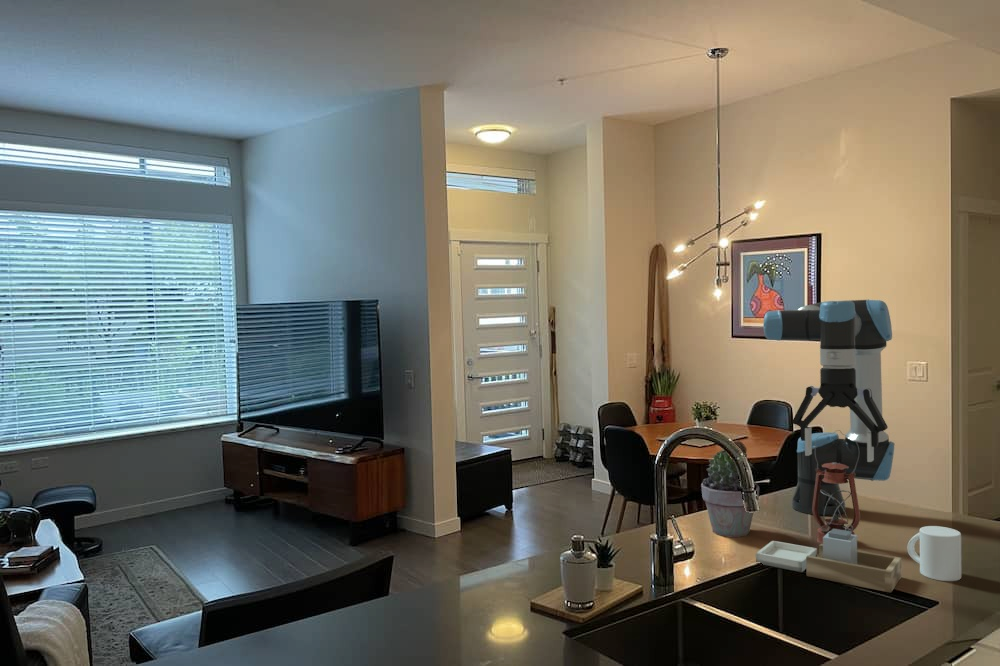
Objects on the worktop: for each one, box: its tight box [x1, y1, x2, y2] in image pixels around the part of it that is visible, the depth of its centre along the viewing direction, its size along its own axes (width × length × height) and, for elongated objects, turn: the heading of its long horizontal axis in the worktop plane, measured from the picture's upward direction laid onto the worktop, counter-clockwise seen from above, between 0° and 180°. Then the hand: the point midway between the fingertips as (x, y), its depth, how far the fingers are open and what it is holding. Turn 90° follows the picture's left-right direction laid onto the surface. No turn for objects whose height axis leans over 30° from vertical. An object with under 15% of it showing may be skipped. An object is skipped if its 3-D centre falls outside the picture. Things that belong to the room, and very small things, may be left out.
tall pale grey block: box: [823, 529, 858, 564], centre depth 173 cm, size 6×6×10 cm
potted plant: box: [697, 440, 760, 538], centre depth 206 cm, size 18×20×25 cm
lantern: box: [812, 429, 861, 544], centre depth 196 cm, size 10×10×30 cm
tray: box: [755, 540, 818, 573], centre depth 183 cm, size 12×11×2 cm
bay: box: [805, 543, 902, 593], centre depth 171 cm, size 11×18×4 cm, turn 51°
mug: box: [906, 525, 962, 582], centre depth 172 cm, size 8×10×12 cm
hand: (838, 457), depth 172 cm, fingers open, 13 cm apart
